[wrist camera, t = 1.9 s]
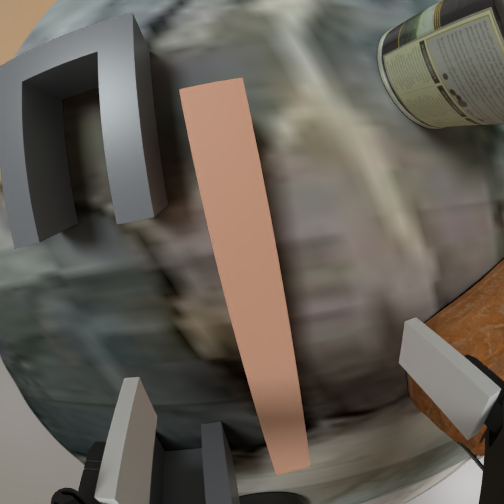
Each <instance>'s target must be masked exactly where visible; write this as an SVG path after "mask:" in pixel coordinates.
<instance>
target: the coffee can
mask: <svg viewBox="0 0 504 504" xmlns="http://www.w3.org/2000/svg"><path fill="white" fill-rule="evenodd" d="M377 62H378V67H379V72H380V75H381V78H382V81H383V83H384V86H385V88H386V90H387V92H388V94H389V95H390V97H391V98H392V100H393V102H394V103H395V104H396V106H397V107H398V108H399V109H400V110H401V111H402V112H403V113H404V114H405V115H406V116H407V117H408V118H410V119H411V120H412V121H414V122H415V123H417V124H419V125H421V126H424V127H426V128H432V129H440V128H443V127H452V126H465V125H488V124H504V0H443V1H441V2H439V3H437V4H435V5H433V6H431V7H429V8H427V9H426V10H424V11H422V12H420V13H419V14H417V15H415V16H413V17H412V18H410V19H408V20H407V21H405V22H403V23H401V24H400V25H398V26H397V27H394V28H391V29H390V30H388V31H387V32H386V33H385V34H384V35H383V36H382V38H381V40H380V43H379V46H378V52H377Z"/></svg>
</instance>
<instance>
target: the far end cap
mask: <svg viewBox="0 0 504 504" xmlns="http://www.w3.org/2000/svg"><path fill="white" fill-rule="evenodd" d="M201 438H202V448H197V449H187V450H175V451H165V450H164V449H163V447H162V445H161V443H160V441H159V440H158V438H157V436H156V434H155V441H154V450H153V461H152V472H151V484H150V499H149V504H240V500H239V494H238V488H237V483H236V476H235V470H234V464H233V457H232V453H231V450H230V447H229V444H228V441H227V438H226V435H225V432H224V429H223V426H222V423H221V421H220V422H213V423H206V424H201Z"/></svg>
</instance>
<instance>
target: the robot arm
mask: <svg viewBox="0 0 504 504" xmlns="http://www.w3.org/2000/svg"><path fill="white" fill-rule="evenodd" d="M399 364H400V365H401V366H402V367H403V368H404V369H405V370H406V371H407V373H408V374H409V375H410V376H411V377H412V378H413V379H414V380H415V381H416V382H417V384H418V385H419V386H420V387H421V388H422V389H423V390H424V391H425V392H426V394H427V395H428V396H429V397H430V398H431V399H432V400H433V401H434V403H435V404H436V405H437V406H438V407H439V408H440V409H441V410H442V412H443V413H444V414H445V415H446V416H447V417H448V418H449V420H450V421H451V422H452V423H453V424H454V425H455V426H456V428H457V429H458V430H459V431H460V432H461V433H462V435H463V436H464V437H465V438H466V439H467V440H469V439H471V438H472V437H473V436H475V435H476V434H478V433H479V432H480V430H481V428H482V427H483V425H484V424H485V425H486V426H487V429H486V430H485V432H484V434H483V436H482V437H481V439H480V442H479V443H482V441H483V440H484V438H485V442H484V443H485V454H484V467H483V478H482V486H481V494H480V500H479V504H504V381H503V380H502V379H501V378H500V377H499V376H497V375H496V374H495V373H494V372H493V371H491V370H489V368H488V367H487V366H485V365H483V363H482V362H481V361H479V360H478V359H477V358H475V357H473V356H470V355H468V354H467V355H465V356H463V355H462V354H460V353H459V352H458V351H457V350H456V349H455V348H453V347H452V346H451V345H450V344H448V343H447V342H446V341H445V340H444V339H442V338H441V337H440V336H439V335H437V334H436V333H435V332H434V331H433V330H431V329H430V328H429V327H428V326H426V325H425V324H424V323H423V322H421V321H420V320H419V319H418V318H416V317H415V318H413V319H410V320H407V321H405V323H404V331H403V338H402V345H401V352H400V358H399ZM156 423H157V415H156V413H155V411H154V409H153V407H152V404H151V402H150V400H149V398H148V396H147V394H146V391H145V389H144V387H143V385H142V382H141V380H140V378H139V377H134V378H124V381H123V384H122V388H121V391H120V394H119V398H118V401H117V405H116V408H115V412H114V415H113V419H112V423H111V427H110V430H109V434H108V438H107V442H95V443H94V444H93V446H92V447H91V448H90V449H89V452H88V455H87V459H86V460H87V462H86V463H85V466H84V468H85V469H84V470H83V474H82V478H81V482H80V486H79V490H78V491H76V490H74V489H72V488H63V489H59V490H58V491H57V492H55V494H54V495H53V497H52V500H51V504H149V499H150V484H151V472H152V461H153V450H154V441H155V432H156ZM239 500H240V504H306V501H305V499H304V498H303V497H301V496H299V495H296V494H292V493H262V494H254V495H248V496H243V497H239Z"/></svg>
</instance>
